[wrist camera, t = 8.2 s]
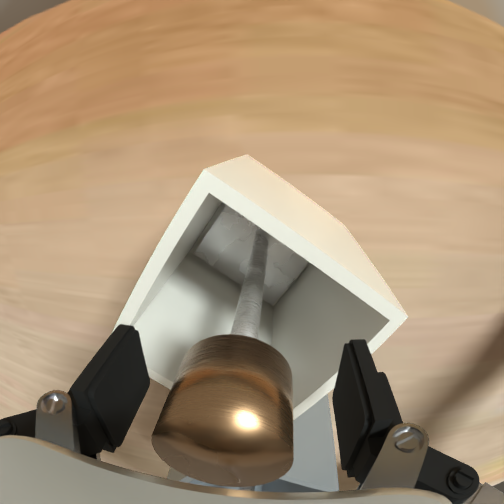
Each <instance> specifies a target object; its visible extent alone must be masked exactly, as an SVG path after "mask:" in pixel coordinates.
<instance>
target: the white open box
mask: <svg viewBox="0 0 504 504" xmlns="http://www.w3.org/2000/svg"><path fill="white" fill-rule="evenodd" d="M226 204H227V205H228V206H229V207H231V208H232V209H234V210H235V211H237V212H238V213H240V214H241V215H243V216H244V217H246V218H247V219H248V220H250V221H251V222H253V223H254V224H256V225H257V226H259V227H260V228H261V229H263V230H264V231H266V232H267V233H269V234H270V235H272V236H273V237H274V238H276V239H277V240H279V241H280V242H282V243H283V244H284V245H286V246H287V247H289V248H290V249H292V250H293V251H294V252H296V253H297V254H299V255H300V256H302V257H303V258H304V259H306V260H307V261H309V262H308V263H307V264H306V266H305V267H304V268H303V269H302V271H301V272H300V273H299V274H298V275H297V277H296V278H295V279H294V280H293V281H292V283H291V284H290V285H289V286H288V287H287V289H286V290H285V291H284V292H283V293H282V294H281V296H280V297H279V298H278V299H277V300H276V302H275V303H274V304H273V305H271V304H269V303H268V302H266V301H264V300H262V308H261V317H260V326H259V334H258V340H261V341H263V342H265V343H267V344H269V345H271V346H272V347H273V348H275V349H276V350H277V351H279V352H280V353H281V354H282V355H283V356H284V358H285V359H286V360H287V362H288V363H289V366H290V368H291V371H292V380H293V420H294V419H296V418H297V417H298V416H300V415H301V414H302V413H304V412H305V411H306V410H307V409H309V408H310V407H311V406H313V405H314V404H315V403H316V402H318V401H319V400H320V399H321V398H322V397H324V396H325V395H326V394H327V393H329V392H330V391H331V390H332V389H333V388H334V387H335V383H336V379H337V375H338V370H339V366H340V362H341V357H342V352H343V348H344V344H345V343H349V341H350V340H351V339H365V340H366V342H367V345H368V348H369V350H370V353H371V354H372V353H373V352H374V351H375V350H376V349H377V348H378V347H379V346H380V345H381V344H382V343H384V342H385V341H386V340H387V339H388V338H389V336H390V335H391V334H392V333H393V332H394V331H395V330H396V329H397V328H398V327H399V326H400V325H401V324H402V323H403V322H404V321H405V320H406V319H407V318H408V316H407V314H406V312H405V311H404V309H403V308H402V306H401V305H400V303H399V302H398V300H397V299H396V297H395V296H394V294H393V293H392V291H391V290H390V288H389V287H388V285H387V284H386V282H385V281H384V279H383V278H382V276H381V275H380V274H379V272H378V271H377V269H376V268H375V266H374V265H373V264H372V262H371V261H370V259H369V258H368V257H367V255H366V254H365V252H364V251H363V250H362V248H361V247H360V246H359V244H358V243H357V241H356V240H355V239H354V237H353V236H352V235H351V233H350V232H349V231H348V229H347V228H346V227H345V225H344V224H343V223H341V222H340V221H339V220H338V219H336V218H335V217H334V216H332V215H331V214H330V213H328V212H327V211H326V210H324V209H323V208H322V207H320V206H319V205H318V204H316V203H315V202H314V201H312V200H311V199H310V198H308V197H307V196H306V195H304V194H303V193H302V192H300V191H299V190H298V189H296V188H295V187H293V186H292V185H291V184H289V183H288V182H286V181H285V180H284V179H282V178H281V177H279V176H278V175H277V174H275V173H274V172H272V171H271V170H269V169H268V168H267V167H265V166H264V165H262V164H261V163H259V162H258V161H256V160H255V159H253V158H252V157H251V156H249V155H248V154H246V155H243V156H240V157H237V158H234V159H231V160H228V161H225V162H222V163H220V164H217V165H214V166H211V167H208V168H205V169H204V170H203V171H202V173H201V174H200V176H199V178H198V179H197V181H196V182H195V184H194V185H193V187H192V189H191V190H190V192H189V193H188V195H187V197H186V198H185V200H184V202H183V203H182V205H181V206H180V208H179V210H178V211H177V213H176V215H175V216H174V218H173V220H172V221H171V223H170V225H169V227H168V228H167V230H166V232H165V233H164V235H163V237H162V239H161V240H160V242H159V244H158V246H157V247H156V249H155V251H154V253H153V254H152V256H151V258H150V260H149V262H148V264H147V265H146V267H145V269H144V271H143V273H142V275H141V276H140V278H139V280H138V282H137V284H136V286H135V288H134V290H133V291H132V293H131V295H130V297H129V299H128V301H127V303H126V305H125V307H124V309H123V311H122V313H121V315H120V317H119V319H118V321H117V323H116V325H115V327H114V329H113V331H114V330H115V329H116V328H117V326H118V325H119V324H124V325H131V326H134V328H135V330H138V332H139V335H140V340H141V345H142V349H143V354H144V358H145V362H146V366H147V370H148V374H149V377H150V378H152V379H153V380H155V381H156V382H158V383H160V384H161V385H163V386H165V387H167V388H168V389H170V390H171V387H172V385H173V383H174V380H175V378H176V375H177V373H178V371H179V368H180V366H181V364H182V361H183V359H184V356H185V355H186V353H187V351H188V350H189V349H190V348H191V347H192V346H193V345H195V344H196V343H198V342H199V341H201V340H203V339H206V338H208V337H212V336H216V335H223V334H230V333H231V329H232V325H233V321H234V317H235V313H236V309H237V305H238V301H239V297H240V293H241V290H242V286H241V285H240V284H238V283H237V282H235V281H234V280H232V279H231V278H229V277H228V276H226V275H225V274H223V273H222V272H220V271H219V270H217V269H216V268H214V267H213V266H211V265H210V264H208V263H207V262H205V261H204V260H202V259H201V258H199V257H198V256H196V255H195V254H194V253H195V251H196V249H197V248H198V246H199V245H200V243H201V242H202V240H203V239H204V237H205V236H206V234H207V233H208V231H209V230H210V228H211V227H212V225H213V224H214V222H215V221H216V219H217V218H218V216H219V215H220V213H221V212H222V210H223V209H224V207H225V206H226ZM113 331H112V333H113ZM112 333H111V334H112Z"/></svg>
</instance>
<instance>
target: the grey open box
mask: <svg viewBox="0 0 504 504" xmlns="http://www.w3.org/2000/svg"><path fill="white" fill-rule="evenodd" d="M293 440H294V461H293V465H292V467H291V469H290V470H289V471H288V472H287V473H286V474H285V475H284V476H282V477H281V478H279V479H277V480H275V481H272V482H269V483H266V484H262V485H257V486H255V491H261V492H334V491H339V484H338V474H337V465H336V456H335V447H334V439H333V431H332V423H331V415H330V408H329V401H328V394H326V395H325V396H324V397H322V398H321V399H320V400H319V401H318V402H316V403H315V404H314V405H313V406H311V407H310V408H309V409H307V410H306V411H305V412H304V413H302V414H301V415H300V416H298V417H297V418H296V419H294V420H293ZM167 479H170V480H175V481H180V482H185V483H191V484H197V485H203V486H210V487H218V488H226V489H236V490H239V488H240V487H227V486H219V485H214V484H209V483H205V482H202V481H199V480H196V479H193V478H191V477H188V476H186V475H184V474H182V473H180V472H178V471H177V470H175V469H173V468H172V467H170V470H169V473H168V476H167Z"/></svg>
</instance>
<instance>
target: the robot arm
mask: <svg viewBox="0 0 504 504" xmlns="http://www.w3.org/2000/svg"><path fill="white" fill-rule="evenodd" d="M149 385H150V378H149V374H148V370H147V366H146V362H145V358H144V354H143V349H142V345H141V340H140V335H139V332H138V330H135V328H134V326H131V325H124V324H119V325H118V326H117V328H116V329H115V330H114V331H113V333H112V334H111V335H110V336H109V338H108V339H107V340H106V342H105V343H104V344H103V345H102V347H101V348H100V349H99V351H98V352H97V353H96V355H95V356H94V357H93V358H92V360H91V361H90V362H89V364H88V365H87V366H86V368H85V369H84V370H83V372H82V373H81V374H80V376H79V377H78V378H77V380H76V381H75V382H74V384H73V385H72V386H71V388H70V390H69V392H68V393H66V392H64V391H60V390H53V391H49V392H47V393H45V394H44V395H43V396H41V397H40V399H39V400H38V403H37V409H36V410H32V411H29V412H25V413H22V414H18V415H14V416H11V417H7V418H3V419H1V420H0V504H504V493H502V492H500V491H499V490H497V489H496V488H494V487H492V486H491V485H489V484H488V483H486V482H485V483H484V484H481V483H480V482H479V476H478V474H477V472H476V471H475V470H474V469H473V468H472V467H470V466H469V465H466V464H464V463H462V462H460V461H458V460H456V459H454V458H452V457H449V456H447V455H445V454H443V453H441V452H439V451H437V450H435V449H433V448H431V447H429V446H428V445H429V438H428V434H427V433H426V432H425V430H424V429H423V428H421V427H420V426H418V425H415V424H412V423H403V422H402V419H401V416H400V413H399V410H398V407H397V404H396V401H395V399H394V396H393V393H392V390H391V387H390V385H389V382H388V379H387V377H386V375H385V373H384V372H377V370H376V367H375V364H374V361H373V359H372V356H371V353H370V350H369V348H368V345H367V342H366V340H365V339H351V340H350V341H349V343H345V344H344V348H343V352H342V357H341V362H340V366H339V370H338V375H337V379H336V383H335V387H334V391H333V407H334V414H335V421H336V428H337V435H338V442H339V450H340V458H341V466H342V470H347V476H348V477H355V479H356V481H358V482H360V484H359V486H358V488H357V490H349V491H334V492H261V491H247V490H236V489H226V488H218V487H210V486H203V485H197V484H191V483H185V482H180V481H175V480H170V479H165V478H161V477H156V476H152V475H148V474H144V473H140V472H136V471H132V470H129V469H125V468H122V467H118V466H115V465H112V464H109V463H106V462H103V461H101V459H100V452H101V451H102V449H103V450H106V451H109V452H112V453H114V451H115V449H116V447H120V446H121V444H122V442H123V440H124V438H125V436H126V434H127V432H128V429H129V427H130V425H131V423H132V421H133V419H134V417H135V415H136V413H137V411H138V409H139V407H140V405H141V402H142V400H143V398H144V396H145V394H146V392H147V390H148V388H149Z"/></svg>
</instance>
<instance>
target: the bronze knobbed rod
mask: <svg viewBox="0 0 504 504" xmlns="http://www.w3.org/2000/svg"><path fill="white" fill-rule="evenodd" d="M194 254H195V255H196V256H198V257H199V258H201V259H202V260H204V261H205V262H207V263H208V264H210V265H211V266H213V267H214V268H216V269H217V270H219V271H220V272H222V273H223V274H225V275H226V276H228V277H229V278H231V279H232V280H234V281H235V282H237V283H238V284H240V285H241V286H242V290H241V293H240V297H239V301H238V305H237V309H236V313H235V317H234V321H233V325H232V329H231V333H230V334H223V335H216V336H212V337H208V338H206V339H203V340H201V341H199V342H198V343H196V344H195V345H193V346H192V347H191V348H190V349H189V350H188V351H187V353H186V355H185V356H184V359H183V361H182V364H181V366H180V368H179V371H178V373H177V375H176V378H175V380H174V383H173V385H172V387H171V390H170V392H169V395H168V397H167V400H166V402H165V404H164V407H163V409H162V412H161V414H160V417H159V419H158V422H157V424H156V426H155V429H154V431H153V434H152V445H153V447H154V449H155V451H156V453H157V454H158V455H159V457H160V458H161V459H162V460H163V461H164V462H165V463H167V464H168V465H169V466H170V467H172V468H173V469H175V470H177V471H178V472H180V473H182V474H184V475H186V476H188V477H191V478H193V479H196V480H199V481H202V482H205V483H209V484H214V485H219V486H227V487H250V486H257V485H262V484H266V483H269V482H272V481H275V480H277V479H279V478H281V477H282V476H284V475H285V474H286V473H287V472H288V471H289V470H290V469H291V467H292V465H293V461H294V440H293V380H292V371H291V368H290V366H289V363H288V362H287V360H286V359H285V358H284V356H283V355H282V354H281V353H280V352H279V351H277V350H276V349H275V348H273V347H272V346H271V345H269V344H267V343H265V342H263V341H261V340H258V334H259V326H260V317H261V308H262V300H264V301H266V302H268V303H269V304H271V305H273V304H274V303H275V302H276V300H277V299H278V298H279V297H280V296H281V294H282V293H283V292H284V291H285V290H286V289H287V287H288V286H289V285H290V284H291V283H292V281H293V280H294V279H295V278H296V277H297V275H298V274H299V273H300V272H301V271H302V269H303V268H304V267H305V266H306V264H307V263H308V262H309V261H307V260H306V259H304V258H303V257H302V256H300V255H299V254H297V253H296V252H294V251H293V250H292V249H290V248H289V247H287V246H286V245H284V244H283V243H282V242H280V241H279V240H277V239H276V238H274V237H273V236H272V235H270V234H269V233H267V232H266V231H264V230H263V229H261V228H260V227H259V226H257V225H256V224H254V223H253V222H251V221H250V220H248V219H247V218H246V217H244V216H243V215H241V214H240V213H238V212H237V211H235V210H234V209H232V208H231V207H229V206H228V205H227V204H226V206H225V207H224V209H223V210H222V212H221V213H220V215H219V216H218V218H217V219H216V221H215V222H214V224H213V225H212V227H211V228H210V230H209V231H208V233H207V234H206V236H205V237H204V239H203V240H202V242H201V243H200V245H199V246H198V248H197V249H196V251H195V253H194Z"/></svg>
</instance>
